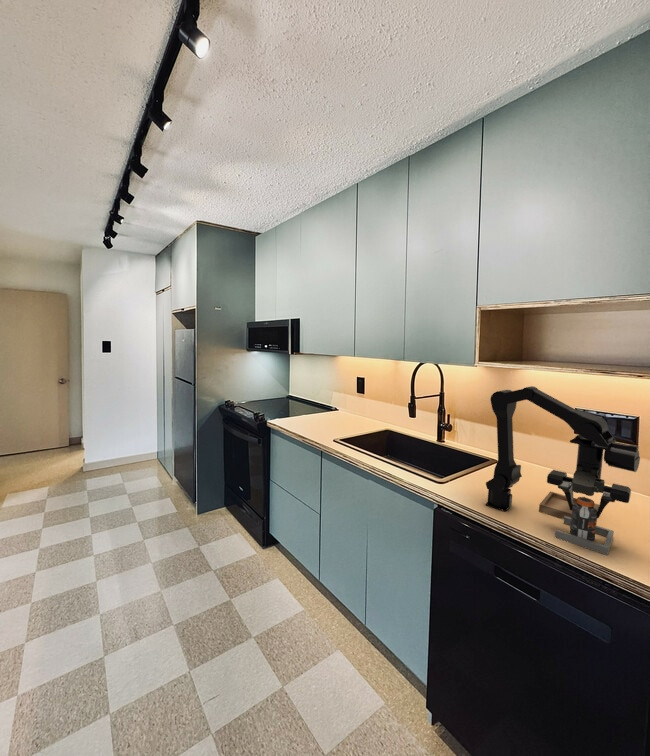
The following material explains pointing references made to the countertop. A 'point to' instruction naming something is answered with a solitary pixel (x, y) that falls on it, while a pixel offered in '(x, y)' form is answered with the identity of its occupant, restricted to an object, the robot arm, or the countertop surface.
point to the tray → (558, 505)
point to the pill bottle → (583, 519)
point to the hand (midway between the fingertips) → (584, 513)
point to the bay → (584, 542)
